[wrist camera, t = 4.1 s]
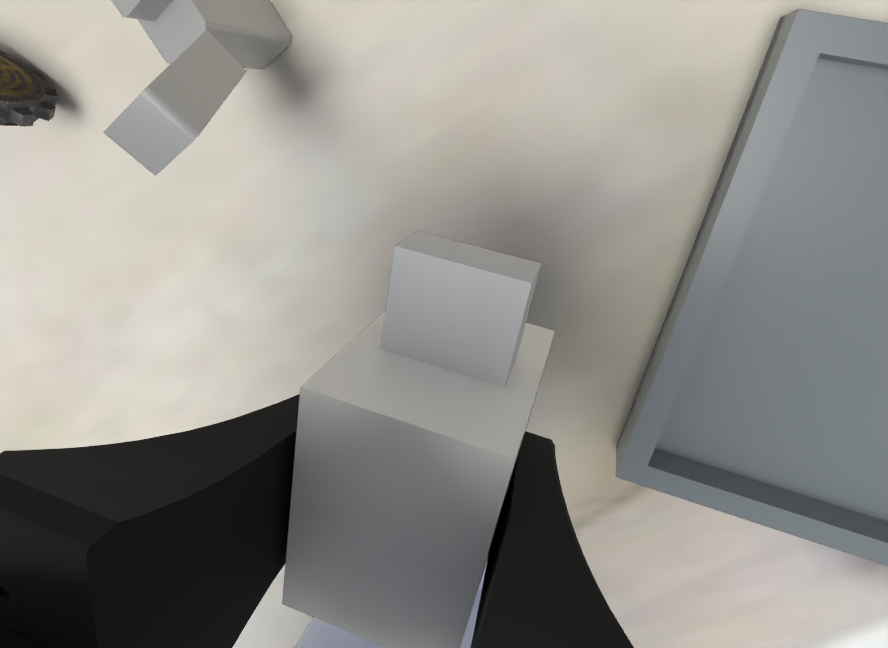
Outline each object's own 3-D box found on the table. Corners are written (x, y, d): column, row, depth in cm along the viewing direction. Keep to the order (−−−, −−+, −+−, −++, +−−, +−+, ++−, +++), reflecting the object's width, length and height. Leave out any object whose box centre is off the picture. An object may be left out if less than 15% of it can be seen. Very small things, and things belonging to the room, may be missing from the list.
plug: (486, 566, 16) (430, 751, 11) (370, 522, 16) (276, 681, 12) (580, 246, 12) (550, 337, 7) (423, 206, 13) (309, 268, 8)
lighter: (186, -42, 19) (-84, -121, 12) (219, -81, 18) (-48, -190, 11) (309, 148, 20) (132, 182, 13) (345, 121, 19) (178, 140, 12)
